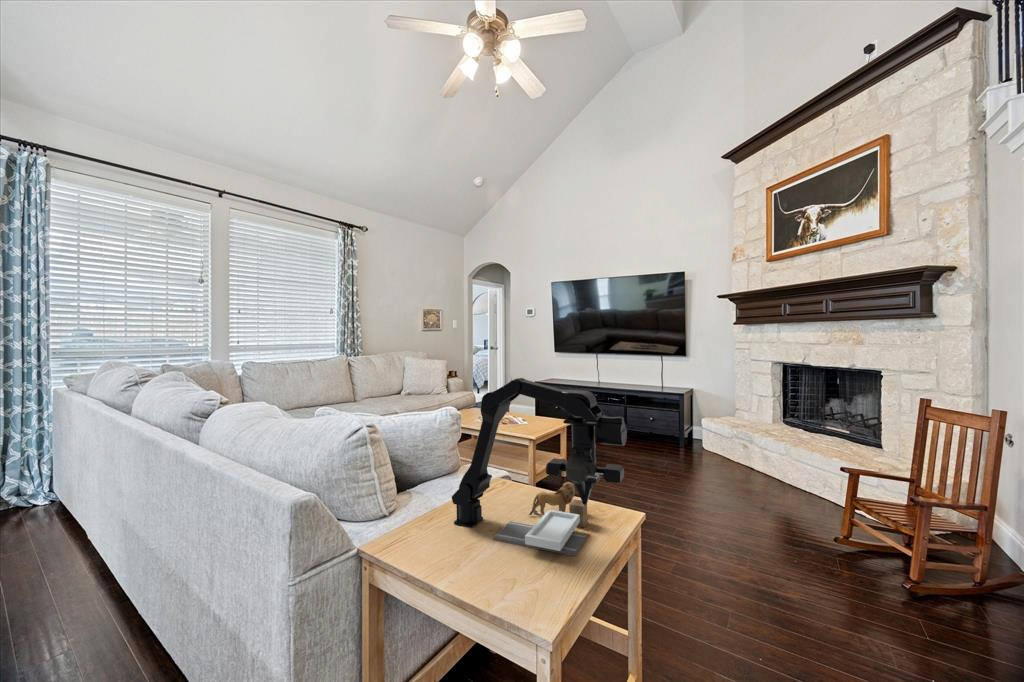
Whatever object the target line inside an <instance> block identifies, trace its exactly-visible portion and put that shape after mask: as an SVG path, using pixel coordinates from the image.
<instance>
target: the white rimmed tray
mask: <svg viewBox="0 0 1024 682" xmlns="http://www.w3.org/2000/svg"><path fill="white" fill-rule="evenodd" d="M579 522H580V515H579V514H573V513H570V512H566V511H565V512H560V511H559V510H553V509H547V511H546V512H544V515H541V517H540V519H539V520H538V521H537V522H536V523H535V524H533V527H532V529H531V530H530V531H529V532H528V533H527V534H526V535H525V544H527V545H532V546H537V547H542V548H547V549H552V550H557V551H561V549H562V548H563V547H564V545H565V543H566V542H567V540H568V539H569V537H570V536H571V534H572V533H575V530H576V528H578V527H577V525H578V524H579Z"/></svg>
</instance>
